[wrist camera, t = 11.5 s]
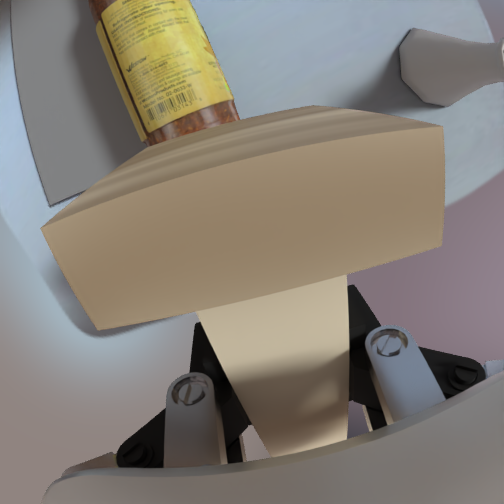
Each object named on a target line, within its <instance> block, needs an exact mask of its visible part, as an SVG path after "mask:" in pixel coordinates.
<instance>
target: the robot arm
mask: <svg viewBox="0 0 504 504" xmlns="http://www.w3.org/2000/svg"><path fill="white" fill-rule="evenodd" d="M347 292H348V315H349V401H351V400H353V401H354V402H357V403H360V404H362V406H363V411H364V414H365V418H366V421H367V425H368V428H369V432H368V433H365V434H362V435H359V436H356V437H353V438H350V439H347V440H343V441H340V442H336V443H333V444H329V445H326V446H322V447H318V448H314V449H310V450H306V451H302V452H297V453H292V454H288V455H283V456H278V457H272V458H266V459H260V460H254V461H248V462H247V460H246V454H245V449H244V443H243V437H242V433H243V431H244V430H245V429H246V428H247V427H248V425H253V424H252V423H251V421H250V419H249V417H248V415H247V414H246V412H245V410H244V408H243V406H242V404H241V402H240V401H239V399H238V397H237V395H236V393H235V391H234V389H233V387H232V385H231V383H230V381H229V380H228V378H227V376H226V374H225V372H224V370H223V368H222V366H221V364H220V362H219V360H218V358H217V356H216V353H215V351H214V349H213V347H212V345H211V343H210V341H209V339H208V337H207V335H206V333H205V330H204V328H203V326H202V324H201V322H199V323H196V324H195V329H194V336H193V345H192V354H191V363H190V372H189V373H188V374H185V375H182V376H180V377H179V378H177V379H176V380H175V381H174V382H173V383H172V384H171V385H170V387H169V388H168V391H167V396H166V408H165V409H164V410H162V411H161V412H160V413H159V414H158V415H157V416H155V417H154V418H153V419H152V420H151V421H149V422H148V423H147V424H146V425H144V426H143V427H142V428H141V429H140V430H138V431H137V432H136V433H135V434H133V435H132V436H131V437H130V438H128V439H127V440H126V441H125V442H124V443H123V444H122V445H121V446H120V448H119V449H118V451H117V453H116V454H114V453H113V452H109V453H107V454H104V455H102V456H99V457H97V458H94V459H91V460H89V461H86V462H84V463H80V464H78V465H75V466H72V467H70V468H68V469H66V470H65V471H64V473H63V474H62V476H61V478H59V479H57V480H55V481H54V482H53V483H52V484H51V485H50V486H49V487H48V489H47V490H46V492H45V494H44V497H43V499H42V502H41V504H504V360H495V361H485V363H484V365H481V364H480V363H478V362H477V361H475V360H473V359H470V358H466V357H462V356H457V355H453V354H448V353H444V352H439V351H435V350H431V349H427V348H422V347H418V346H417V344H416V342H415V341H414V339H413V337H412V335H411V334H410V333H409V332H408V331H407V330H406V329H404V328H402V327H399V326H395V325H386V326H381V325H380V323H379V321H378V320H377V318H376V317H375V315H374V314H373V312H372V311H371V309H370V307H369V306H368V304H367V303H366V301H365V300H364V299H363V297H362V296H361V294H360V292H359V291H358V290H357V288H356V287H355V286H354V285H349V286H347Z"/></svg>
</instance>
